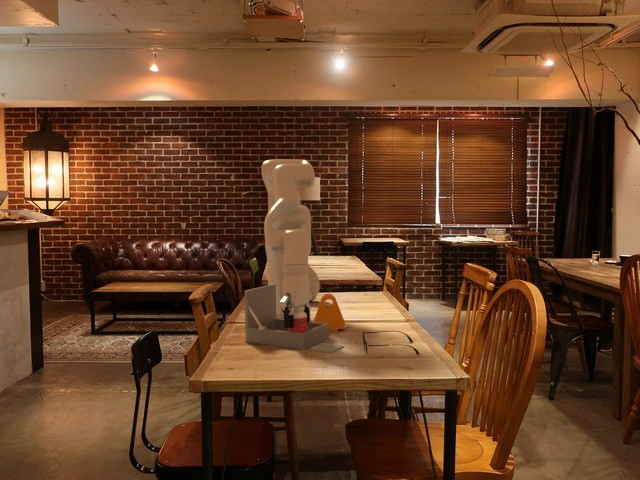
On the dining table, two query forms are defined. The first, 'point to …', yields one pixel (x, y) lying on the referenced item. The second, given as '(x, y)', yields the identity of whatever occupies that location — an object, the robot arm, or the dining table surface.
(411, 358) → the dining table surface
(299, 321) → the pill bottle
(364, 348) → the eyeglasses
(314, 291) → the vase
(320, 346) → the mat
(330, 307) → the bracket
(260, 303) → the case
